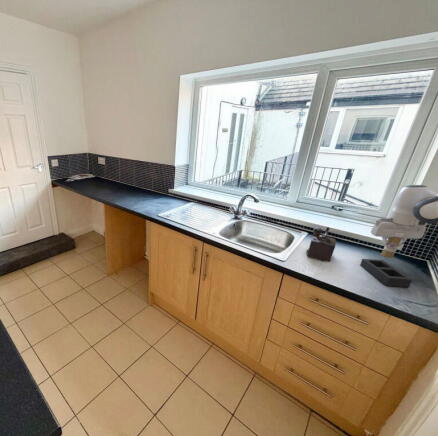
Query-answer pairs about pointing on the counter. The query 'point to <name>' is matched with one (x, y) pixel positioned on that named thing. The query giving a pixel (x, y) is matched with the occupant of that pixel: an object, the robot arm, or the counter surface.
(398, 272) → the holder
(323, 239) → the brown coffee grinder
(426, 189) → the robot arm
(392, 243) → the sprinkles bottle
